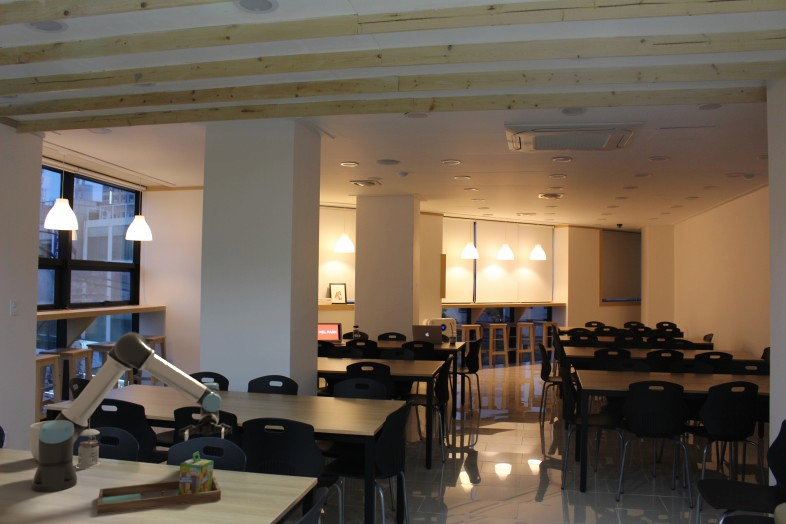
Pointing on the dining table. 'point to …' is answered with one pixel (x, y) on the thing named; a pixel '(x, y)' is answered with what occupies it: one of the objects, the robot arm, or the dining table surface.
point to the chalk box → (195, 475)
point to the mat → (121, 498)
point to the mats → (158, 493)
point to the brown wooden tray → (152, 501)
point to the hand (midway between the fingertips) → (204, 436)
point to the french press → (88, 450)
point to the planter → (35, 438)
